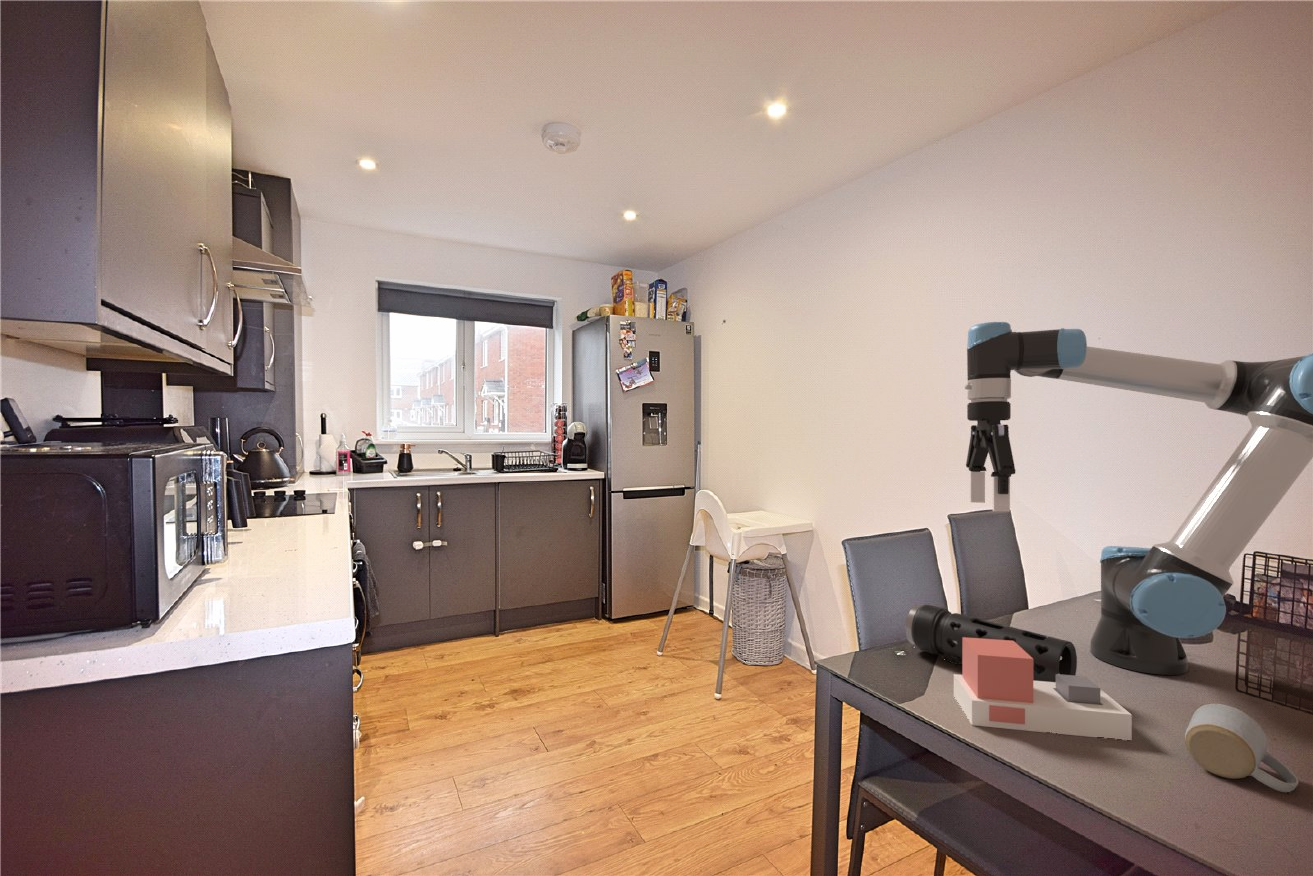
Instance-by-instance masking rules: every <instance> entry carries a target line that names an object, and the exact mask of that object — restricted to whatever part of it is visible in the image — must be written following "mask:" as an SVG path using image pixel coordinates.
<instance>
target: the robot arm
mask: <svg viewBox="0 0 1313 876" xmlns="http://www.w3.org/2000/svg"><path fill="white" fill-rule="evenodd" d="M1011 327H1012V326H1011V324H1010V323H1009V322H1007V321H989V322H982V323H981V322H980V323H977V324H974V325H972V326H971V327H970V328H969V329H968V331H967V347H966V356H967V357H966V361H967V362H966V365H967V369H966V370H967V374H966V376H967V384H965V385H964V389H965V390H967V399H968V401H970V402H968V404H967V405H966V406H967V407H966V409H967V412H966V413H967V417H966V418H967V420H968V421H970V422H977V424H975V425H971V426H970V437H969V445H968V451H967V457H966V461H965V462H966V464H965V466H966V468H968V471H969V503H983V504H984V503H986V472H987V468H986V466H985V465H986V461H987V459H988V455H989V460H990V463H991V465H992V466H991V467H992V470H993V471H992V472H991V474H990V477H991V478H992V512H1010V511H1011V491H1010V490H1011V477H1012V475H1015V474H1016V467H1015V462H1014V456H1013V451H1012V445H1011V441H1010V431H1009V430H1010V429H1009V424H1002V423H1001V421H1009V420H1011V416H1012V415H1011V414H1012V413H1011V404H1012V403H1010V401H1008V400H1009V399H1011V398H1012V378H1011V372H1012V371H1014V372H1015V373H1017V375H1020V376H1023V377H1028V378H1029V377H1030V378H1032V377H1033V378H1034V377H1040V378H1041V377H1042V378H1047V379H1052V380H1054V379H1055V380H1062V381H1068V382H1075V383H1080V384H1081V383H1082V384H1087V385H1088V384H1089V385H1094V386H1100V387H1106V388H1112V389H1117V390H1118V389H1119V390H1125V391H1130V392H1131V391H1132V392H1138V393H1143V394H1148V395H1155V396H1162V397H1169V398H1174V399H1180V400H1187V401H1192V402H1200V403H1204V405H1206V407H1207V408H1208V409H1211V410H1217V411H1222V412H1227V413H1232V414H1237V415H1242V416H1245V417H1247V418H1248V420H1249V422H1250V425H1251V427H1250V429H1249V431H1247V433H1246V434H1245V436H1244V437H1243V438H1242V440H1241V441H1240V442H1239V444H1238V446H1237V447H1236V448H1235V450H1234V451H1233V452H1232V454H1231V455H1230V456H1229V458H1228V459H1227V461H1226V462H1225V464H1224V465H1223V466H1222V468H1221V469H1220V471H1219V472H1218V473H1217V475H1216V477H1215V478H1214V479H1213V480H1212V482H1211V483H1210V485H1209V486H1208V487H1207V488H1206V490H1205V492H1204V493H1203V494H1202V496H1201V497H1200V498H1199V499H1198V501H1197V502H1196V504H1195V505H1194V507H1193V508H1192V510H1191V511H1190V512H1189V513H1188V515H1187V516H1186V517H1185V519H1184V521H1183V522H1182V524H1181V525H1180V526H1179V528H1178V529H1177V530H1176V532H1175V533H1174V535H1173V536H1172V537H1171V539H1170V540H1168V541H1167V542H1163V543H1155V544H1153V545H1152V547H1151V548H1148V547H1139V546H1121V545H1120V546H1119V545H1117V546H1116V545H1109V546H1108V545H1107V546H1104V547H1103V548H1102V549H1101V555H1100V556H1101V557H1100V559H1099V563H1100V618H1099V620H1098V623H1097V625H1096V627H1095V630H1094V631H1093V634H1092V637H1091V639H1090V642H1089V643H1090V644H1089V645H1090V653H1091V654H1092V656H1094V657H1095V658H1097V659H1098V660H1100V661H1103V662H1105V663H1108V664H1110V665H1113V666H1116V667H1119V668H1122V669H1123V668H1124V669H1126V670H1131V671H1133V672H1134V671H1135V672H1140V673H1145V674H1152V675H1163V676H1164V675H1167V676H1176V675H1177V676H1178V675H1182V674H1185V673H1187V672H1188V668H1189V667H1188V666H1189V665H1188V664H1189V663H1188V662H1189V660H1188V657H1187V654H1186V652H1185V651H1186V650H1185V648H1184V646H1183V644H1182V641H1181V639H1193V638H1195V639H1196V638H1199V637H1204V636H1206V635H1209V634H1210V633H1212V632H1214V631H1215V630H1216V629H1218V628H1219V627H1220V626H1221V624H1222V623H1223V621H1225V620H1224V619H1225V617H1226V614H1227V606H1226V603H1225V599H1224V597H1225V595H1226V594H1227V593H1228V591H1229V590H1230V589H1231V587H1233V585H1234V580H1233V577H1232V575H1231V572H1230V569H1231V567H1232V565H1233V564H1234V563H1235V562H1236V560H1237V559H1238V558H1239V556H1240V555H1241V553H1242V552H1243V551H1244V550H1245V548H1246V547H1247V545H1248V544H1249V543H1250V541H1251V540H1252V539H1253V537H1254V536H1255V535H1256V534H1257V532H1258V531H1259V530H1260V528H1261V527H1262V525H1264V524H1265V522H1266V521H1267V519H1268V517H1269V516H1270V515H1271V514H1272V513H1273V511H1274V510H1275V508H1276V507H1277V506H1278V504H1280V503H1281V500H1283V498H1284V497H1285V495H1286V494H1287V493H1288V491H1289V490H1290V489H1291V487H1292V486H1293V484H1294V483H1295V482H1296V481H1297V479H1298V478H1299V476H1300V475H1301V474H1302V473H1303V471H1304V470H1305V469H1306V467H1307V466H1308V465H1309V463H1311V460H1312V459H1313V353H1309V354H1307V355H1303V356H1297V357H1291V358H1284V359H1278V360H1269V361H1239V360H1231V359H1227V360H1223V361H1222V362H1220V363H1211V362H1204V361H1197V360H1192V359H1191V360H1190V359H1182V358H1176V357H1175V358H1174V357H1167V356H1161V355H1160V356H1159V355H1153V354H1145V353H1139V352H1130V351H1125V350H1115V349H1109V348H1100V347H1096V346H1087V345H1088V344H1087V336H1086V333H1085V332H1084V331H1083V330H1082V329H1080V328H1064V327H1062V328H1059V329H1047V330H1033V331H1031V330H1030V331H1018V332H1017V331H1013V330H1012V328H1011Z"/></svg>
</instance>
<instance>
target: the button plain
mask: <svg viewBox="0 0 1313 876" xmlns="http://www.w3.org/2000/svg"><path fill="white" fill-rule="evenodd" d="M1100 689H1101V687H1099V686H1098V684H1096V683H1095V682H1093V681H1092V680H1091V679H1090V678H1089V677H1087V676H1084V675H1075V676H1074V675H1061V674H1056V692H1057V693H1058V694H1059V695H1061V696H1062V697H1063V698H1064V699H1065V700H1066V701H1067V702H1073V703H1084V704H1096V705H1100Z"/></svg>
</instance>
